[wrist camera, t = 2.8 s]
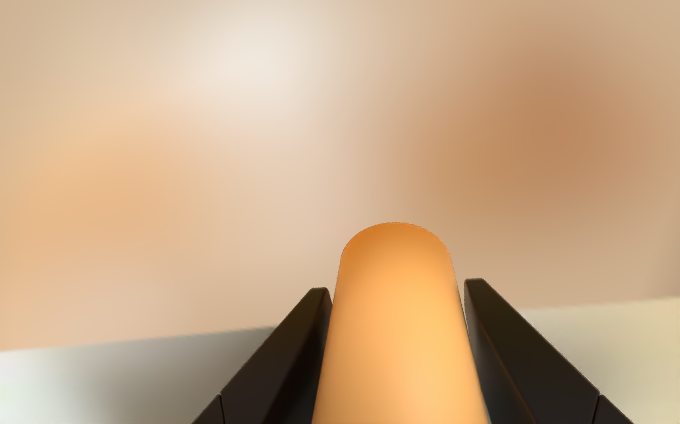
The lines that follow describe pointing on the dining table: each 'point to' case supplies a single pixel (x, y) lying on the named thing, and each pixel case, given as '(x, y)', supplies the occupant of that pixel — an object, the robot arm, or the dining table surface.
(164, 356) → the dining table surface
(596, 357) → the dining table surface
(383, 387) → the orange knob joystick
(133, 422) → the dining table surface
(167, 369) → the dining table surface
